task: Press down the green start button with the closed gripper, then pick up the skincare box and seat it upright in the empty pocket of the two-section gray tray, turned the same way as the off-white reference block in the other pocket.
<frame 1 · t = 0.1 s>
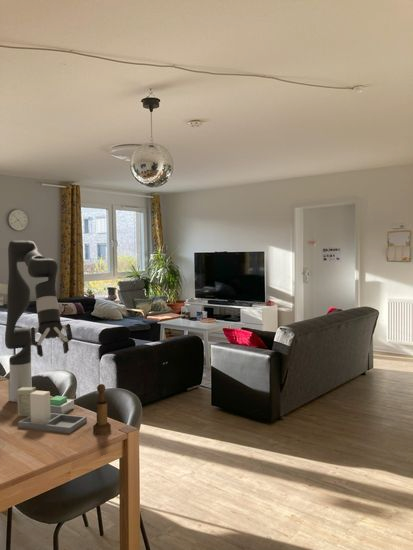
hand: (53, 354, 161), 31 cm above the table, tool tilted 20°, fingers open, 8 cm apart
reference block: (40, 423, 177), resting on two-section gray tray
start button: (58, 401, 190), point 5 cm above the table, slide at 0.0 cm
skincare box: (27, 418, 187), on the table
two-section gray tray: (53, 428, 175), on the table
brown chess piece: (102, 432, 172), on the table
button housing: (58, 414, 191), on the table
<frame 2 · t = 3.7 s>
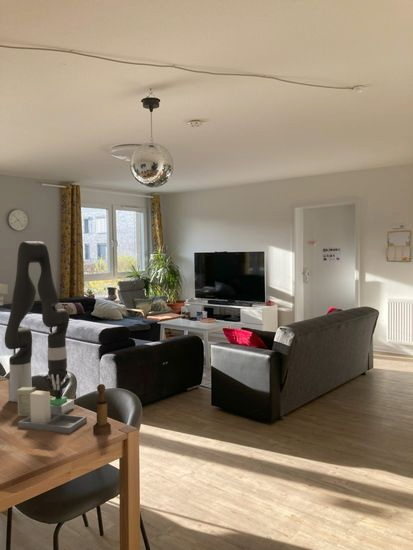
hand: (58, 398, 190), 7 cm above the table, tool pointing down, fingers closed
start button: (58, 401, 190), point 5 cm above the table, slide at 0.1 cm, touching gripper
everything else where it was.
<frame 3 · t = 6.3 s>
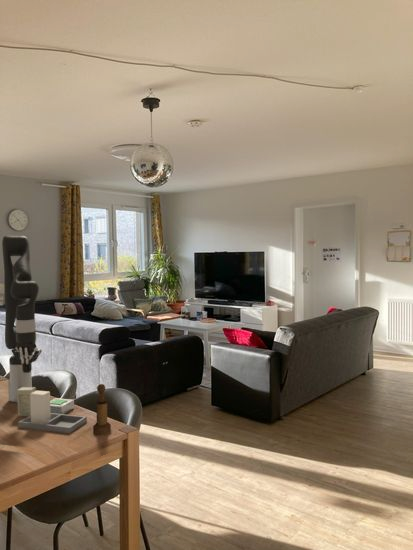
hand: (27, 372, 186), 19 cm above the table, tool pointing down, fingers closed
start button: (58, 405, 191), point 4 cm above the table, slide at 1.5 cm
everything else where it was.
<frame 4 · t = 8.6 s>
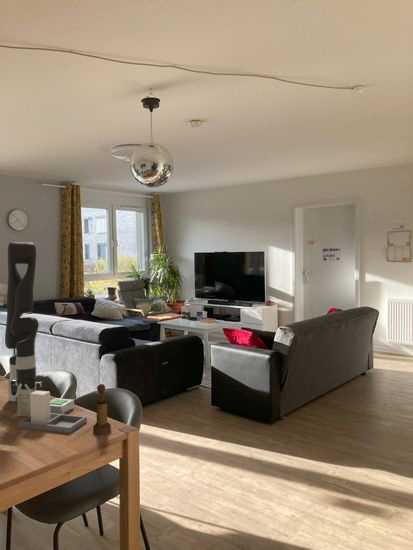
hand: (27, 406, 187), 5 cm above the table, tool pointing down, fingers closed on skincare box, 6 cm apart
skincare box: (27, 418, 187), on the table, touching gripper
everything else where it was.
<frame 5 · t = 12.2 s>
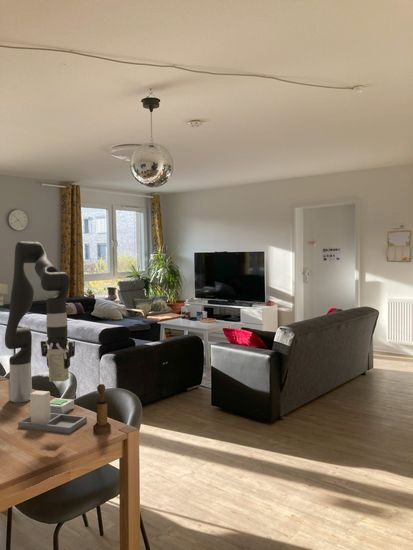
hand: (58, 367, 174), 24 cm above the table, tool pointing down, fingers closed on skincare box, 6 cm apart
skincare box: (58, 380, 174), point 19 cm above the table, touching gripper
everything else where it was.
when the fingers open (8 cm above the table, at t = 15.4 s): skincare box drops 1 cm, resting on two-section gray tray.
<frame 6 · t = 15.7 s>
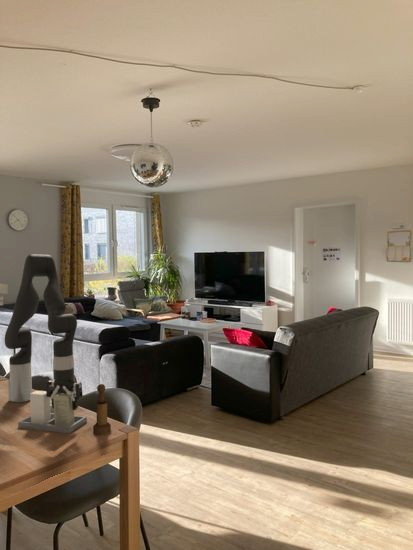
hand: (64, 408, 173), 8 cm above the table, tool pointing down, fingers open, 8 cm apart
skincare box: (64, 426, 174), point 1 cm above the table, touching two-section gray tray
everything else where it was.
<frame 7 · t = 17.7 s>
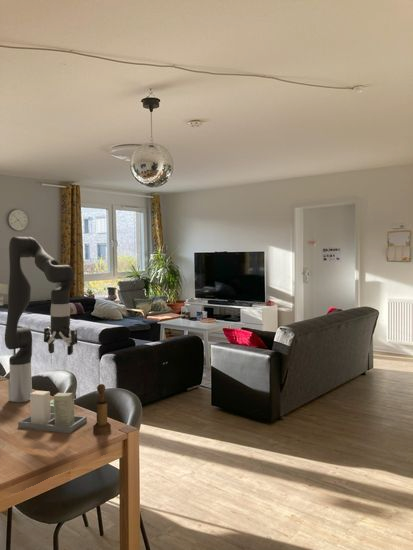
hand: (60, 353, 185), 26 cm above the table, tool pointing down, fingers open, 8 cm apart
nothing on the table moved.
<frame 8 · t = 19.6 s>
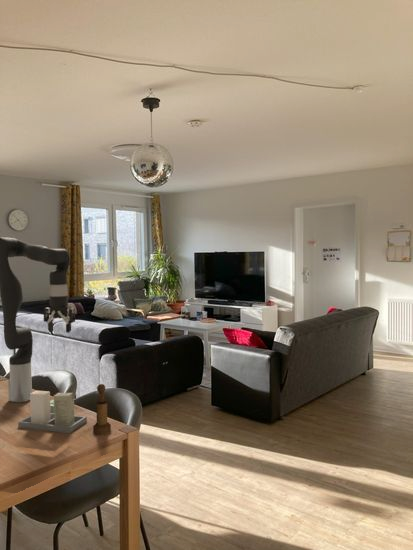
hand: (59, 332, 198), 33 cm above the table, tool pointing down, fingers open, 8 cm apart
nothing on the table moved.
at the end: start button slide at 1.5 cm; skincare box 0.4 cm from the target spot on the two-section gray tray, point 1.3 cm above the two-section gray tray's base; skincare box tilted 0° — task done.
